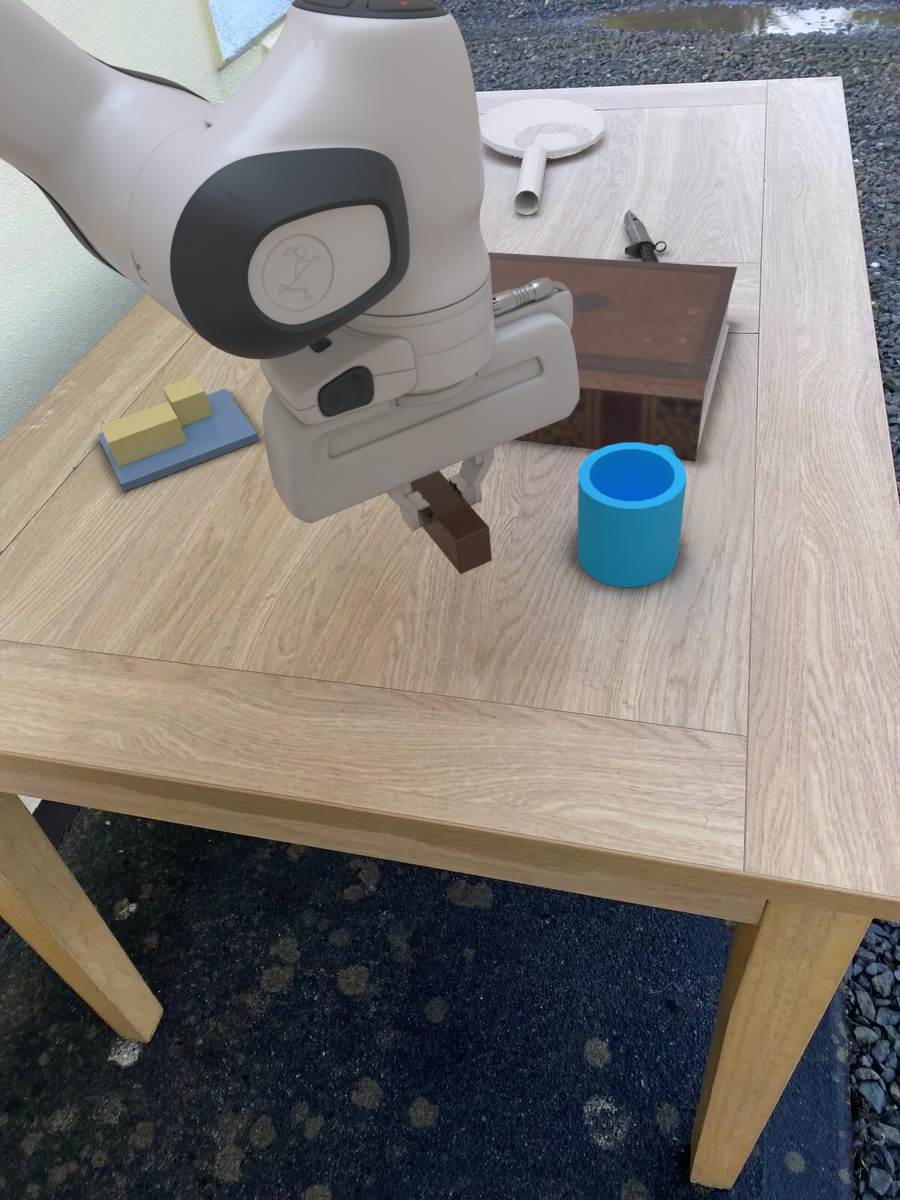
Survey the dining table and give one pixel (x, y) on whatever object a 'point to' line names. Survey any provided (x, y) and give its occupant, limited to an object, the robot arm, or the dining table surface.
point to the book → (634, 346)
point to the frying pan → (536, 139)
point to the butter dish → (196, 448)
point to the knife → (640, 240)
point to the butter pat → (188, 400)
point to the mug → (630, 513)
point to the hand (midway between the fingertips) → (441, 511)
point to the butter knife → (454, 523)
